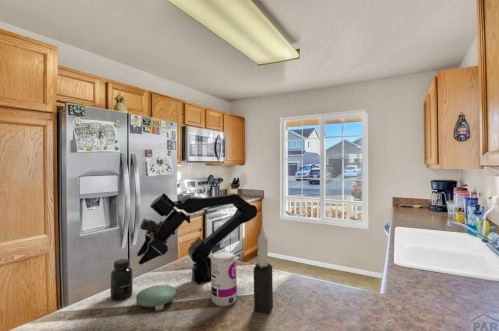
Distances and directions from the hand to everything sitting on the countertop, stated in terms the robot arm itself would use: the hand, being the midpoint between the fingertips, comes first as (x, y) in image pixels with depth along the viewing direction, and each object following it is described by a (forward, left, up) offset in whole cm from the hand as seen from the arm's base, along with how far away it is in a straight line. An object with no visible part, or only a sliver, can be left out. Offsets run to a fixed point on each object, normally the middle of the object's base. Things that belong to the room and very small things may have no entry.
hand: (138, 259), depth 93 cm
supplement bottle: (+5, -1, -12) cm, 13 cm away
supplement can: (-23, +21, -12) cm, 33 cm away
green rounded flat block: (-4, +10, -12) cm, 16 cm away
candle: (-31, +32, -12) cm, 46 cm away
